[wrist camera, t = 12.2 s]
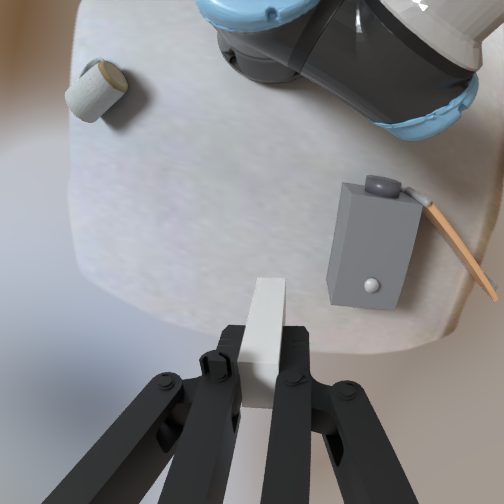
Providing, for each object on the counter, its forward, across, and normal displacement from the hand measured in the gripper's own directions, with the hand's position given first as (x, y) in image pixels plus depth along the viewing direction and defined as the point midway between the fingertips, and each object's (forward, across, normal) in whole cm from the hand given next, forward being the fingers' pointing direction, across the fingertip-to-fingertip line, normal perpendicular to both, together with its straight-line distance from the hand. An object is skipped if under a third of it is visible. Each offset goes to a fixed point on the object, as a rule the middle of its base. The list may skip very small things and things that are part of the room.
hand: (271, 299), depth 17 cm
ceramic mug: (+32, -29, +19) cm, 47 cm away
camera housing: (+31, +12, -8) cm, 35 cm away
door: (+31, +28, -7) cm, 42 cm away
